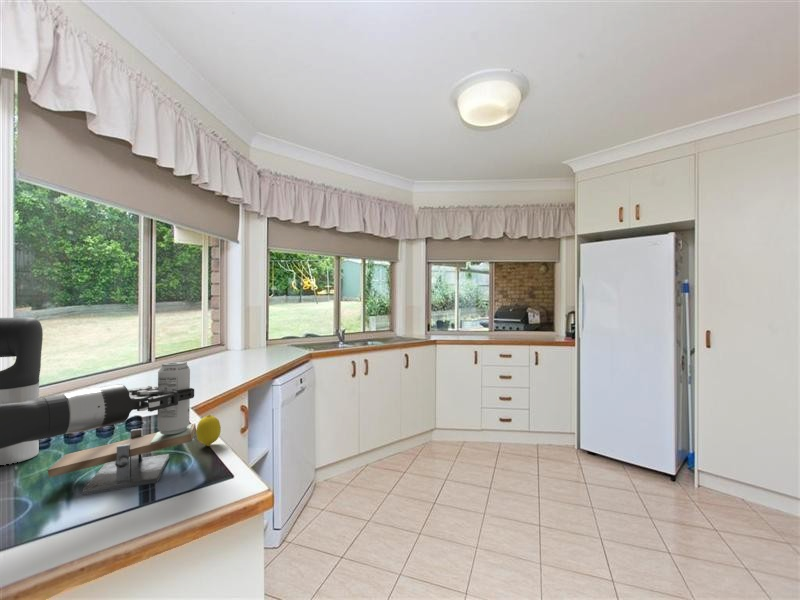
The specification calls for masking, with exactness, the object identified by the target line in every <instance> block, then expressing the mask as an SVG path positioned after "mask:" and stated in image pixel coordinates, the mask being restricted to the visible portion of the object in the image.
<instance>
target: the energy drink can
mask: <svg viewBox="0 0 800 600" xmlns="http://www.w3.org/2000/svg"><path fill="white" fill-rule="evenodd" d="M190 375H191V369H190V367H189V366H188V362H187V361H181V360H177V361H167V362H163V363H161V367H160V368H159V370H158V372H157V387H158V390H164V392H168V391H174V390H175V391H177V390H182V389H188V388H191V387H190V386H191V385H190V383H191V376H190ZM158 396H160V395H159V394H158ZM168 401H170V397H169V398H168ZM190 403H191V402H190V399H187V400H182V401H178V405H176V406H171V407H167V408H163V409H159V410H157V422H156V423H157V425H156V426H157V430H158V432H160V433H161V434H164V435H169V434H176V433H180V432H183V431H185V430H186V429H187V426H189V424H190V412H191V411H190Z"/></svg>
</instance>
